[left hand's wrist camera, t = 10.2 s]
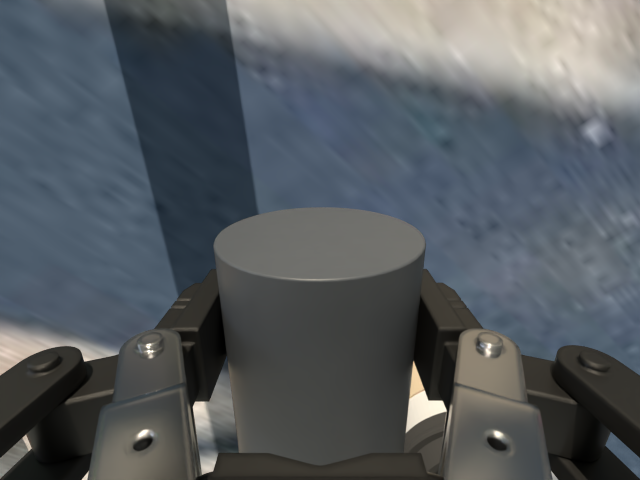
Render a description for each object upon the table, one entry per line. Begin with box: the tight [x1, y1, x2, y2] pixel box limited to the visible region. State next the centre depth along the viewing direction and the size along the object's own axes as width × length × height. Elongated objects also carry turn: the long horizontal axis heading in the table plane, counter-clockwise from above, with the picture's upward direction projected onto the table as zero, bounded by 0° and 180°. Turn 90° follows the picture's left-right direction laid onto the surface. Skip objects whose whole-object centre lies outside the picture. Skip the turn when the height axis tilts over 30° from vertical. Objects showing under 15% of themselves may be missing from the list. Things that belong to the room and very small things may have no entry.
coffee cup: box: [404, 361, 447, 475], centre depth 28 cm, size 9×9×15 cm
